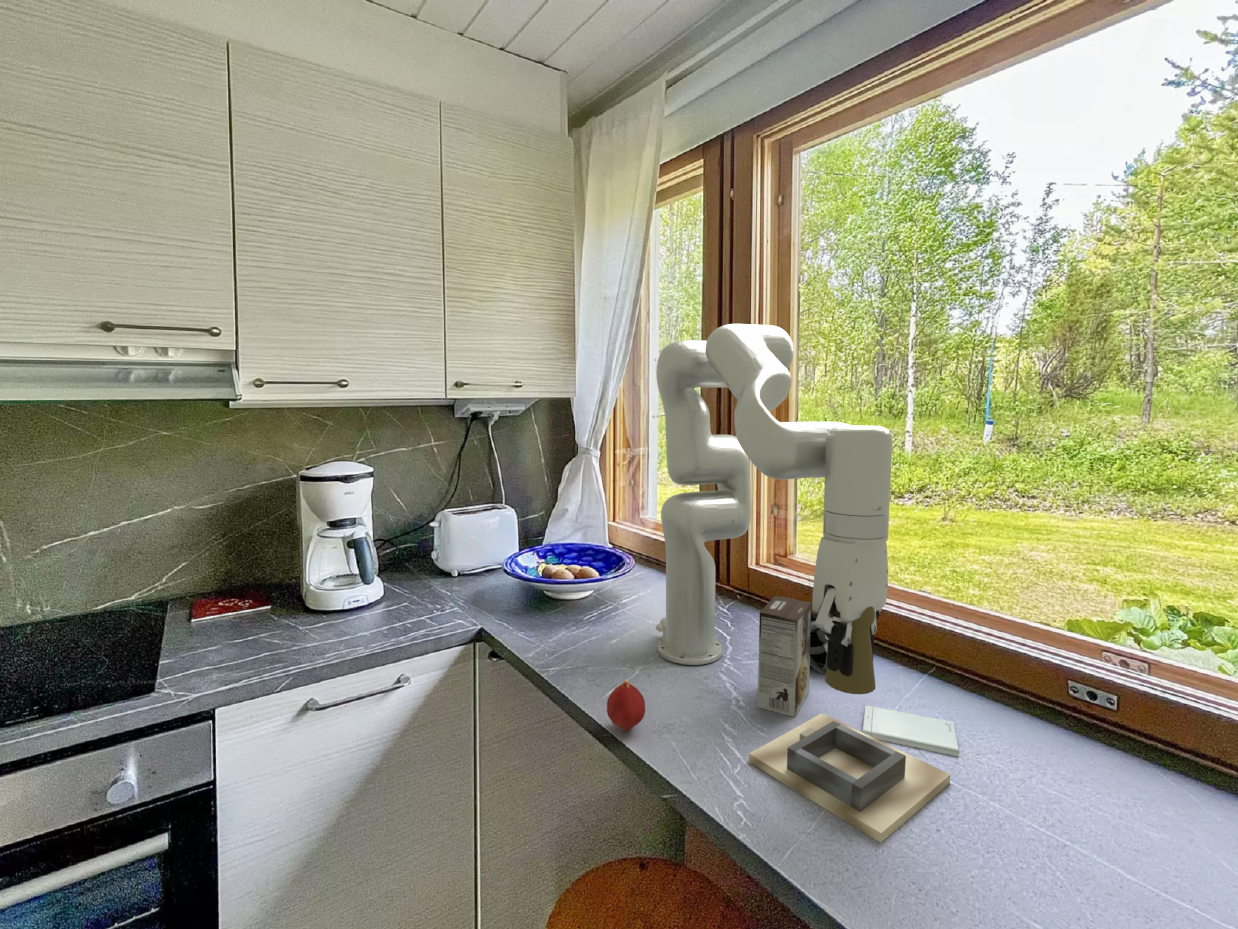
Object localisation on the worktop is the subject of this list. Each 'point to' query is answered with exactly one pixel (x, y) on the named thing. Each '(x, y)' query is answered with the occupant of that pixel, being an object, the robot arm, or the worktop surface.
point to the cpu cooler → (818, 647)
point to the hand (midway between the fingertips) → (850, 665)
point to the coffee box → (784, 655)
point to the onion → (625, 706)
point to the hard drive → (911, 730)
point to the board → (851, 774)
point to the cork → (857, 658)
